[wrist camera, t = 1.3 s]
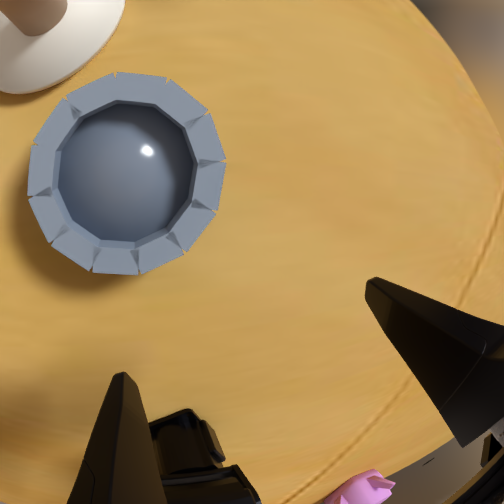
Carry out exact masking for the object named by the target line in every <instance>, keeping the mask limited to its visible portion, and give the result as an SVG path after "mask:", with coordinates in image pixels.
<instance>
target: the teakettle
mask: <svg viewBox="0 0 504 504" xmlns="http://www.w3.org/2000/svg"><path fill="white" fill-rule="evenodd" d="M394 485H395V482H392V481H389V480H386V479H384V478H383V477H382V475H381V474H380V473H379V472H378V471H376V470H375V469H372V470H369V471H366V472H364V473H361V474H358V475H356V476H353V477H351V478H350V479H349V480H347V481H346V482H345V483H344V484H342V485H341V486H340V487H339V488H338V489H336V490H335V491H334V492H333V493H332V494H331V495H329V496H328V497H327V498H326V499H325V500H324V503H325V504H381V503H382V502H383V501H384V500H386V499H387V498H388V497H389V496H390V495H391V491H390V489H391V488H392V487H393V486H394Z"/></svg>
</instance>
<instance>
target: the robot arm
mask: <svg viewBox="0 0 504 504" xmlns="http://www.w3.org/2000/svg"><path fill="white" fill-rule="evenodd" d="M365 300H366V302H367V304H368V306H369V307H370V309H371V311H372V312H373V314H374V316H375V318H376V319H377V321H378V323H379V325H380V326H381V328H382V330H383V331H384V333H385V334H386V336H387V337H388V339H389V340H390V341H391V343H392V344H393V346H394V347H395V348H396V350H397V351H398V352H399V354H400V355H401V357H402V358H403V360H404V361H405V362H406V364H407V365H408V367H409V368H410V369H411V371H412V372H413V374H414V375H415V377H416V378H417V380H418V381H419V382H420V384H421V385H422V387H423V388H424V390H425V391H426V393H427V394H428V396H429V397H430V399H431V400H432V402H433V403H434V405H435V406H436V408H437V409H438V411H439V413H440V414H441V416H442V417H443V419H444V420H445V422H446V424H447V425H448V427H449V428H450V430H451V431H452V433H453V435H454V436H455V438H456V439H457V441H458V443H459V444H460V446H461V447H462V448H464V447H465V446H467V445H468V444H469V443H471V442H472V441H474V440H475V439H476V438H478V437H479V436H480V435H482V434H483V433H484V432H486V431H487V430H488V429H489V430H490V431H491V432H490V434H489V435H488V436H487V437H486V438H485V439H484V445H483V452H482V458H481V466H482V467H483V469H481V470H480V471H479V472H478V473H477V474H476V475H475V476H474V477H473V478H472V479H471V480H470V481H469V482H468V483H466V484H465V485H464V486H463V487H462V488H461V489H459V490H458V491H457V492H456V493H455V494H453V496H451V497H450V498H449V499H447V500H446V501H445V502H444V503H442V504H504V326H503V325H499V324H496V323H493V322H490V321H487V320H484V319H481V318H478V317H475V316H473V315H470V314H468V313H465V312H463V311H460V310H457V309H455V308H453V307H451V306H448V305H446V304H443V303H441V302H439V301H436V300H434V299H431V298H429V297H426V296H424V295H422V294H419V293H417V292H414V291H412V290H409V289H407V288H404V287H402V286H399V285H397V284H394V283H392V282H389V281H387V280H384V279H382V278H379V277H374V278H372V279H369V280H368V281H367V282H366V290H365ZM225 459H226V458H225V455H224V453H223V451H222V448H221V446H220V443H219V441H218V438H217V436H216V433H215V431H214V430H213V429H212V428H211V426H210V425H209V424H208V423H207V422H206V421H205V420H201V419H200V418H199V417H198V416H197V415H196V413H195V412H194V411H193V410H192V409H185V410H183V411H180V412H178V413H175V414H173V415H170V416H168V417H165V418H163V419H160V420H158V421H155V422H152V423H150V424H148V421H147V418H146V414H145V411H144V407H143V404H142V400H141V397H140V393H139V389H138V386H137V384H136V383H135V382H134V381H133V380H132V378H131V377H130V376H129V375H128V374H127V373H126V372H120V373H117V374H115V375H114V376H113V378H112V380H111V383H110V385H109V388H108V391H107V393H106V396H105V398H104V401H103V403H102V406H101V409H100V411H99V414H98V417H97V420H96V422H95V425H94V428H93V431H92V434H91V437H90V440H89V442H88V445H87V448H86V451H85V455H84V459H83V460H82V464H81V467H80V470H79V473H78V476H77V479H76V481H75V484H74V486H73V489H72V492H71V494H70V496H69V499H68V501H67V504H262V503H261V500H260V498H259V496H258V494H257V492H256V490H255V489H254V488H253V486H252V485H251V483H250V482H249V481H248V479H247V478H246V476H245V475H244V474H243V472H242V471H241V469H240V468H239V466H238V465H237V464H235V465H231V466H229V467H223V465H222V463H221V462H223V461H225Z"/></svg>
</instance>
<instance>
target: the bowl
mask: <svg viewBox="0 0 504 504" xmlns="http://www.w3.org/2000/svg"><path fill="white" fill-rule="evenodd" d="M166 79H167V78H166V77H159V76H152V75H143V74H134V73H123V72H117V75H116V78H115V77H114V74H113V73H111V74H109V75H106V76H104V77H102V78H100V79H98V80H95V81H93V82H91V83H89V84H87V85H85V86H83V87H81V88H79V89H77V90H75V91H73V92H71V93H69V94H67V95H66V96H67V100H68V101H67V100H65V99H64V98H62V100H61V101H60V102H59V104H58V105H57V106H56V108H55V109H54V110H53V112H52V113H51V115H50V116H49V118H48V119H47V120H46V122H45V123H44V125H43V126H42V128H41V129H40V131H39V133H38V134H37V136H36V137H35V139H34V140H33V141H34V142H35V143H36V144H37V145H32V146H31V154H30V164H29V175H28V192H27V196H33V197H32V198H30V199H28V201H29V203H30V205H31V208H32V210H33V212H34V214H35V216H36V219H37V221H38V223H39V225H40V227H41V229H42V231H43V233H44V235H45V237H46V239H47V241H48V243H49V242H51V241H53V240H54V241H53V243H52V245H51V246H52V247H53V248H55V249H56V250H58V251H59V252H60V253H62V254H63V255H65V256H66V257H68V258H69V259H71V260H72V261H74V262H75V263H77V264H78V265H80V266H81V267H83V268H85V269H86V270H88V271H90V269H91V267H92V266H93V273H107V274H124V275H138V268H139V270H140V272H141V274H144V273H146V272H148V271H150V270H152V269H154V268H157V267H159V266H161V265H163V264H165V263H167V262H169V261H171V260H173V259H176V258H178V257H180V256H182V255H184V254H183V251H182V249H183V250H185V251H186V252H187V251H188V250H189V249H190V248H191V246H192V245H193V244H194V242H195V241H196V240H197V238H198V237H199V236H200V234H201V233H202V232H203V230H204V229H205V228H206V227H207V225H208V224H209V223H210V221H211V220H212V219H213V218H214V216H215V215H216V214H215V213H214V212H213V211H212V210H218V206H219V200H220V195H221V189H222V184H223V178H224V173H225V167H226V163H224V162H219V161H222V160H224V159H226V157H225V154H224V151H223V149H222V146H221V143H220V140H219V137H218V134H217V131H216V128H215V125H214V122H213V119H212V117H211V114H210V113H209V114H207V115H204V114H205V113H206V112H207V111H208V109H206V108H205V107H204V106H203V105H202V104H200V103H199V102H198V101H197V100H196V99H194V98H193V97H192V96H191V95H190V94H188V93H187V92H186V91H185V90H183V89H182V88H181V87H180V86H179V85H177V84H176V83H175V82H174V81H172V80H171V79H170V80H169V81H168V82H167V83H166ZM165 83H166V85H165ZM203 115H204V116H203ZM181 248H182V249H181Z"/></svg>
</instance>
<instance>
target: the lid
mask: <svg viewBox="0 0 504 504" xmlns="http://www.w3.org/2000/svg"><path fill="white" fill-rule="evenodd" d="M124 7H125V0H0V91H3V92H5V93H10V94H28V93H34V92H38V91H42V90H44V89H47V88H50V87H52V86H54V85H56V84H58V83H61V82H62V81H64V80H66V79H67V78H69V77H71V76H72V75H74V74H75V73H77V72H78V71H79V70H81V69H82V68H83V67H84V66H86V65H87V64H88V63H89V62H90V61H91V60H92V59H93V58H94V57H95V56H96V55H97V54H98V53H99V52H100V51H101V50H102V49H103V48H104V46H105V45H106V44H107V43H108V41H109V40H110V38H111V37H112V36H113V34H114V32H115V30H116V29H117V27H118V25H119V22H120V20H121V18H122V15H123V11H124Z"/></svg>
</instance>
